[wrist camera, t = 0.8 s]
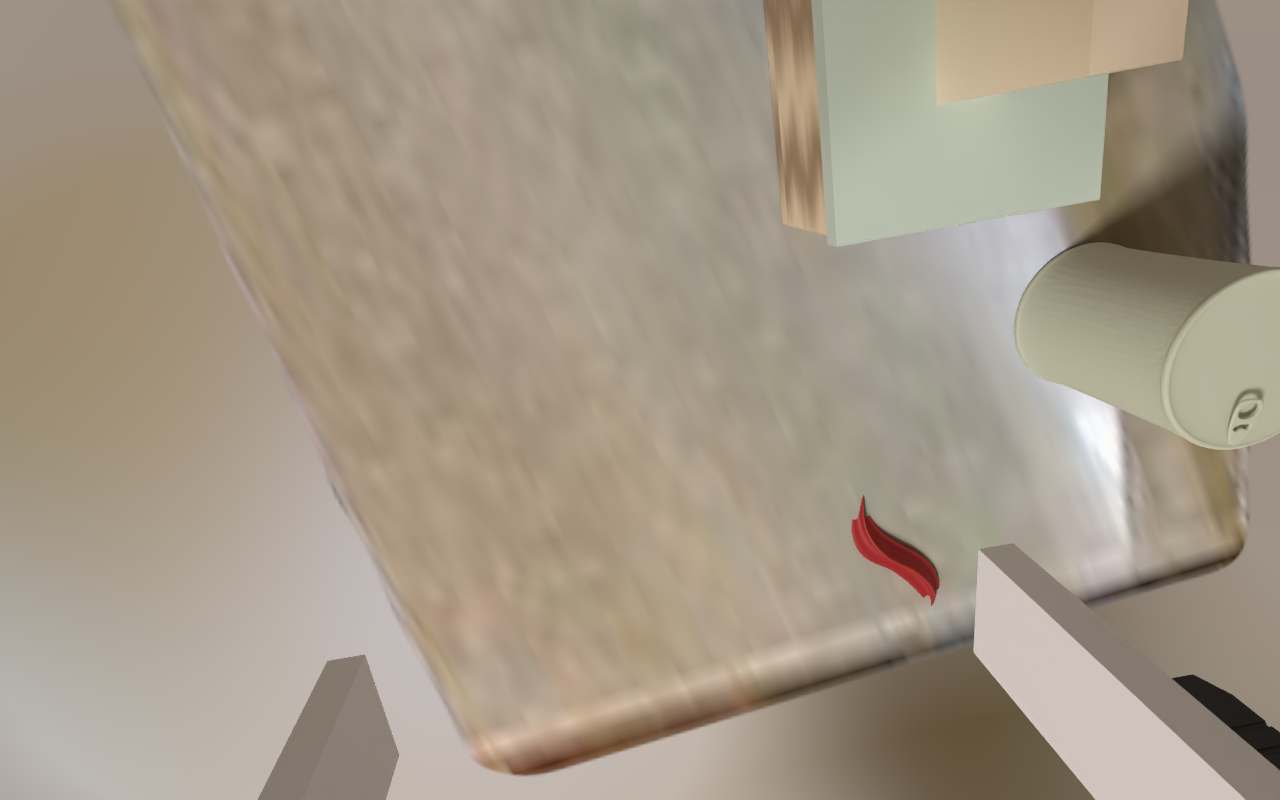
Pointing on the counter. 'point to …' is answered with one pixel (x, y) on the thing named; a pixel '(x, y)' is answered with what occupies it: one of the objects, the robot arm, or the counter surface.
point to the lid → (971, 105)
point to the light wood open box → (796, 112)
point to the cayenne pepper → (894, 555)
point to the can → (1160, 339)
